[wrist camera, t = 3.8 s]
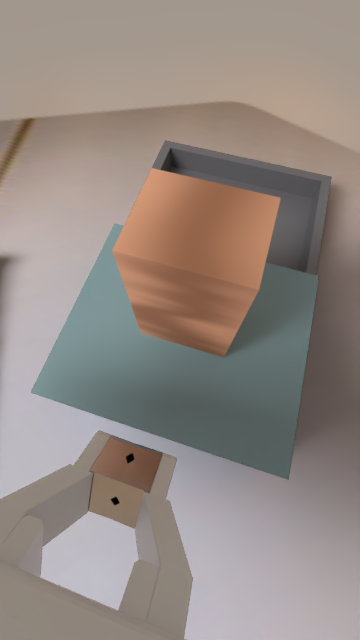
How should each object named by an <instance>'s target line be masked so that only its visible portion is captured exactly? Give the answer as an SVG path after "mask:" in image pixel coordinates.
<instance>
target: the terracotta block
mask: <svg viewBox="0 0 360 640" xmlns="http://www.w3.org/2000/svg"><path fill="white" fill-rule="evenodd" d="M280 199H281V198H280V197H275V196H271V195H267V194H262V193H258V192H254V191H249V190H245V189H241V188H236V187H232V186H228V185H223V184H219V183H214V182H210V181H206V180H201V179H197V178H193V177H188V176H184V175H180V174H175V173H171V172H167V171H162V170H158V169H154V168H152V169H151V171H150V173H149V175H148V177H147V179H146V181H145V183H144V185H143V187H142V190H141V192H140V194H139V196H138V198H137V200H136V202H135V204H134V206H133V208H132V210H131V212H130V214H129V216H128V219H127V221H126V223H125V225H124V227H123V229H122V231H121V233H120V235H119V237H118V239H117V241H116V243H115V245H114V248H113V250H112V252H113V255H114V257H115V260H116V263H117V266H118V269H119V272H120V275H121V277H122V280H123V283H124V286H125V289H126V292H127V295H128V298H129V300H130V303H131V306H132V309H133V312H134V315H135V318H136V320H137V323H138V326H139V329H140V332H141V333H143V334H146V335H150V336H153V337H156V338H160V339H163V340H166V341H170V342H173V343H176V344H180V345H183V346H187V347H190V348H193V349H197V350H200V351H203V352H207V353H210V354H213V355H217V356H220V357H223V358H224V356H225V354H226V352H227V350H228V348H229V347H230V345H231V343H232V341H233V339H234V337H235V335H236V333H237V331H238V329H239V327H240V325H241V324H242V322H243V320H244V318H245V316H246V314H247V312H248V310H249V308H250V306H251V304H252V302H253V301H254V299H255V297H256V295H257V293H258V291H259V288H260V284H261V280H262V275H263V271H264V267H265V263H266V258H267V254H268V250H269V246H270V241H271V237H272V233H273V229H274V224H275V220H276V216H277V212H278V207H279V203H280Z"/></svg>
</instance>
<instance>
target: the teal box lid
mask: <svg viewBox="0 0 360 640" xmlns="http://www.w3.org/2000/svg"><path fill="white" fill-rule="evenodd" d="M123 227H124V226H122V225H118V224H114V226H113V228H112V230H111V232H110V234H109V236H108V238H107V240H106V242H105V244H104V246H103V248H102V250H101V252H100V254H99V256H98V258H97V260H96V262H95V264H94V266H93V268H92V270H91V272H90V274H89V276H88V278H87V280H86V282H85V284H84V286H83V288H82V290H81V292H80V294H79V296H78V298H77V300H76V302H75V304H74V306H73V308H72V310H71V312H70V314H69V316H68V318H67V320H66V322H65V324H64V326H63V328H62V330H61V332H60V334H59V336H58V338H57V340H56V342H55V344H54V346H53V348H52V350H51V352H50V354H49V356H48V358H47V360H46V362H45V364H44V366H43V368H42V370H41V372H40V374H39V376H38V378H37V380H36V382H35V384H34V386H33V388H32V390H31V393H34V394H37V395H39V396H42V397H45V398H48V399H51V400H54V401H57V402H60V403H63V404H66V405H69V406H72V407H75V408H78V409H81V410H84V411H87V412H90V413H93V414H96V415H99V416H102V417H104V418H107V419H110V420H113V421H116V422H119V423H122V424H125V425H128V426H131V427H134V428H137V429H140V430H143V431H146V432H149V433H152V434H155V435H158V436H161V437H164V438H167V439H170V440H173V441H175V442H178V443H181V444H184V445H187V446H190V447H193V448H196V449H199V450H202V451H205V452H208V453H211V454H214V455H217V456H220V457H223V458H226V459H229V460H232V461H235V462H238V463H241V464H244V465H246V466H249V467H252V468H255V469H258V470H261V471H264V472H267V473H270V474H273V475H276V476H279V477H282V478H285V479H288V480H289V473H290V467H291V460H292V453H293V447H294V440H295V433H296V426H297V420H298V413H299V406H300V400H301V393H302V386H303V380H304V373H305V366H306V360H307V353H308V346H309V340H310V333H311V326H312V320H313V313H314V306H315V300H316V293H317V286H318V280H319V276H316V275H312V274H309V273H305V272H301V271H297V270H293V269H289V268H285V267H281V266H277V265H274V264H270V263H265V267H264V271H263V275H262V280H261V284H260V288H259V291H258V293H257V295H256V297H255V299H254V301H253V302H252V304H251V306H250V308H249V310H248V312H247V314H246V316H245V318H244V320H243V322H242V324H241V325H240V327H239V329H238V331H237V333H236V335H235V337H234V339H233V341H232V343H231V345H230V347H229V348H228V350H227V352H226V354H225V356H224V358H223V357H220V356H217V355H213V354H210V353H207V352H203V351H200V350H197V349H193V348H190V347H187V346H183V345H180V344H176V343H173V342H170V341H166V340H163V339H160V338H156V337H153V336H150V335H146V334H143V333H141V332H140V329H139V326H138V323H137V320H136V318H135V315H134V312H133V309H132V306H131V303H130V300H129V298H128V295H127V292H126V289H125V286H124V283H123V280H122V277H121V275H120V272H119V269H118V266H117V263H116V260H115V257H114V255H113V252H112V250H113V248H114V245H115V243H116V241H117V239H118V237H119V235H120V233H121V231H122V229H123Z"/></svg>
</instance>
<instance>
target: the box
mask: <svg viewBox="0 0 360 640" xmlns="http://www.w3.org/2000/svg"><path fill="white" fill-rule="evenodd" d="M152 168H154V169H158V170H162V171H167V172H171V173H175V174H180V175H184V176H188V177H193V178H197V179H201V180H206V181H210V182H214V183H219V184H223V185H228V186H232V187H236V188H241V189H245V190H249V191H254V192H258V193H262V194H267V195H271V196H275V197H280V198H281V199H280V203H279V207H278V212H277V216H276V220H275V224H274V229H273V233H272V237H271V241H270V246H269V250H268V254H267V258H266V263H270V264H274V265H277V266H281V267H285V268H289V269H293V270H297V271H301V272H305V273H309V274H312V275H317V268H318V262H319V255H320V249H321V242H322V236H323V229H324V223H325V216H326V210H327V203H328V197H329V190H330V184H331V177H330V176H325V175H321V174H316V173H312V172H307V171H302V170H298V169H293V168H289V167H284V166H280V165H275V164H270V163H266V162H261V161H257V160H252V159H247V158H243V157H238V156H234V155H229V154H225V153H220V152H215V151H211V150H206V149H202V148H197V147H192V146H188V145H183V144H179V143H174V142H170V141H165V142H164V144H163V146H162V148H161V150H160V152H159V154H158V156H157V158H156V160H155V162H154V165H153V167H152ZM141 190H142V189H141ZM127 219H128V218H127Z"/></svg>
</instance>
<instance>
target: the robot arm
mask: <svg viewBox="0 0 360 640" xmlns="http://www.w3.org/2000/svg"><path fill="white" fill-rule="evenodd" d="M176 461H177V458H176V457H173V456H171V455H168V454H165V453H164V454H163V453H162V452H159V451H156V450H153V449H150V448H147V447H144V446H141V445H138V444H135V443H132V442H129V441H127V440H124V439H121V438H119V437H116V436H113V435H110V434H108V433H105V432H102V431H100V430H99V431H98V432H97V433H96V434H95V435H94V437H93V438H92V440H91V441H90V443H89V444H88V446H87V447H86V448H85V450H84V451H83V453H82V454H81V456H80V457H79V459H78V460H77V462H76V463H75V465H71V464H69V465H67V466H65V467H63V468H61V469H59V470H58V471H56V472H54V473H52V474H50V475H48V476H46V477H44V478H42V479H40V480H38V481H36V482H34V483H32V484H30V485H28V486H26V487H24V488H22V489H20V490H18V491H16V492H14V493H12V494H10V495H8V496H6V497H4V498H2V499H0V640H186V639H184V634H185V627H186V621H187V614H188V607H189V601H190V594H191V587H192V581H193V578H192V574H191V571H190V568H189V564H188V561H187V558H186V554H185V551H184V548H183V544H182V541H181V538H180V534H179V531H178V527H177V524H176V521H175V517H174V514H173V511H172V507H171V504H170V501H168V500H166V496H167V492H168V489H169V485H170V482H171V478H172V475H173V471H174V468H175V464H176ZM88 511H90V512H93V513H96V514H99V515H102V516H104V517H107V518H110V519H113V520H115V521H117V522H120V523H122V524H125V525H127V526H129V527H132V528H134V529H135V535H136V542H137V550H138V557H139V560H138V561H136V562H135V563H134V566H133V569H132V572H131V575H130V578H129V581H128V584H127V587H126V590H125V593H124V596H123V599H122V602H121V604H120V607H119V610H116V609H113V608H111V607H109V606H106V605H104V604H102V603H99V602H97V601H95V600H92V599H90V598H87V597H85V596H83V595H80V594H78V593H76V592H73V591H71V590H69V589H66V588H64V587H62V586H59V585H57V584H54V583H52V582H50V581H47V580H45V579H43V578H40V575H41V563H42V547H43V546H44V545H46V544H47V543H48V542H50V541H51V540H52V539H53V538H55V537H56V536H57V535H59V534H60V533H61V532H63V531H64V530H65V529H67V528H68V527H69V526H70V525H72V524H73V523H74V522H76V521H77V520H78V519H80V518H81V517H82V516H84V515H85V514H86V513H87V512H88Z"/></svg>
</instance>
